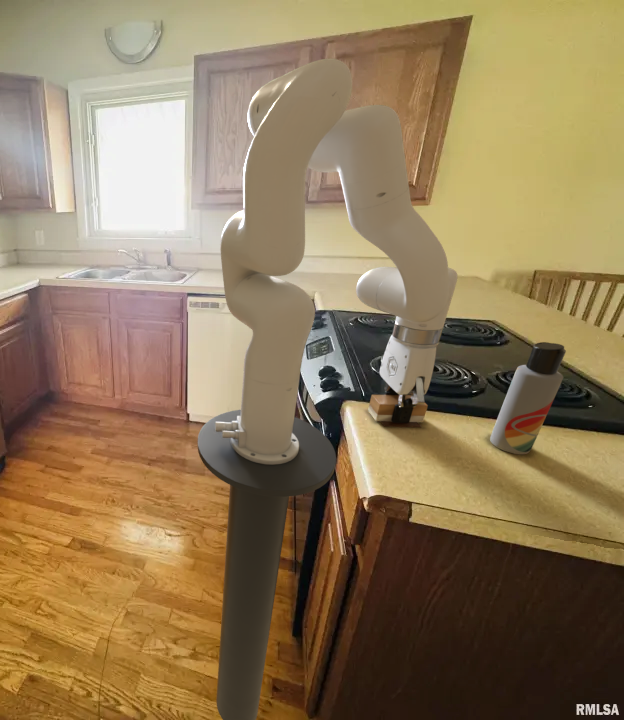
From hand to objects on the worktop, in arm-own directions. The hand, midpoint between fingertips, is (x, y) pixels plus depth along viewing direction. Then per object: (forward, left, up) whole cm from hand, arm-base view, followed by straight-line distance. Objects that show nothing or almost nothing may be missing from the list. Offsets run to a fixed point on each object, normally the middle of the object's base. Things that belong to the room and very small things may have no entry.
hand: (394, 414), depth 81 cm
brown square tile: (0, 0, -1) cm, 1 cm away
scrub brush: (0, 0, 0) cm, 0 cm away
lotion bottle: (+16, -8, -1) cm, 18 cm away
